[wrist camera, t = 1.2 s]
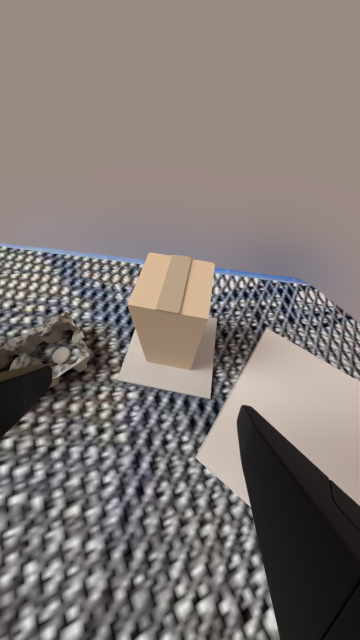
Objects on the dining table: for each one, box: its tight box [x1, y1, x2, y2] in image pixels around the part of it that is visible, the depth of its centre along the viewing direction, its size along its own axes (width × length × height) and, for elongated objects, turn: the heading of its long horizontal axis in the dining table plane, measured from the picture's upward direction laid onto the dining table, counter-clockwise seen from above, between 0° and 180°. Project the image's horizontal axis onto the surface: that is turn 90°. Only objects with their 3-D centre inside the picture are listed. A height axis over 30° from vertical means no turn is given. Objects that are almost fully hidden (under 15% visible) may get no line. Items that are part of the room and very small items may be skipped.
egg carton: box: [0, 312, 92, 388], centre depth 21 cm, size 10×7×4 cm
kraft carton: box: [127, 253, 215, 370], centre depth 18 cm, size 6×6×12 cm
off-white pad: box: [195, 329, 360, 507], centre depth 20 cm, size 18×14×1 cm
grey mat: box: [117, 317, 217, 399], centre depth 24 cm, size 11×11×1 cm
